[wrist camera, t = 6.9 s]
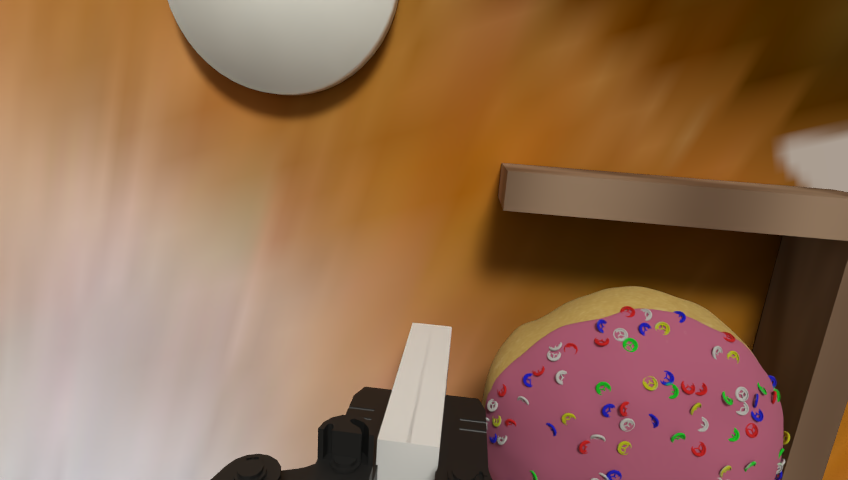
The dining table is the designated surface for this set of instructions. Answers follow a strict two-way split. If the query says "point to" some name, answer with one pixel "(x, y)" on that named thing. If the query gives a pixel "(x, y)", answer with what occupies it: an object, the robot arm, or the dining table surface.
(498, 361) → the cupcake
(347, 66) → the white round domed disc
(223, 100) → the dining table surface
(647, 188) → the bay
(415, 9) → the dining table surface
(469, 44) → the dining table surface
